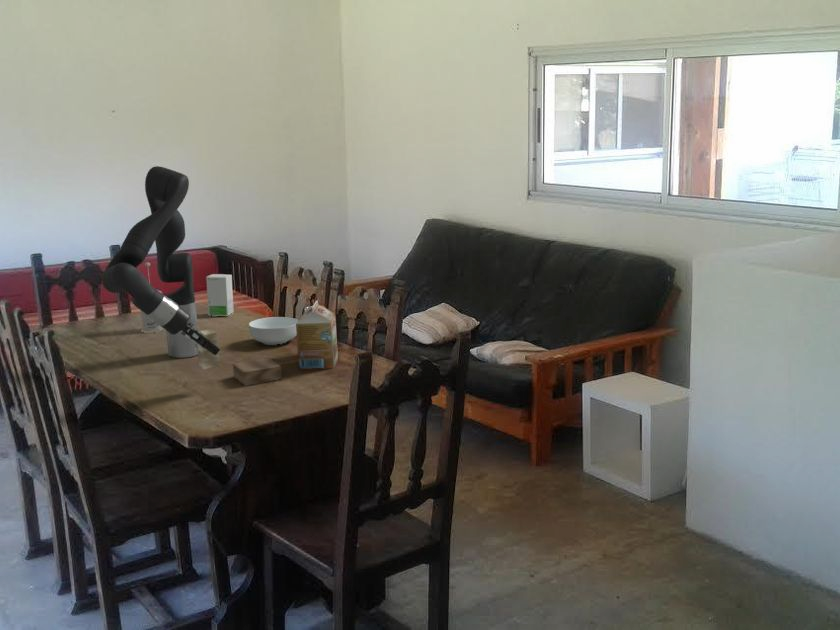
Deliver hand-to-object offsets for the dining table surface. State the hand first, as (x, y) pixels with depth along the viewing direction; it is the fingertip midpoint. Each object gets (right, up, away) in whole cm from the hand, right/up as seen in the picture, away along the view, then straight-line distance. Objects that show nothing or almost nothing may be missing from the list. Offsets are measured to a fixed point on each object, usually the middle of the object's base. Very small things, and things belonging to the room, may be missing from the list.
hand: (214, 350), depth 265 cm
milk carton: (+27, -5, +24) cm, 36 cm away
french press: (-38, +4, +78) cm, 87 cm away
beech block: (-2, -5, 0) cm, 5 cm away
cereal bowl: (+9, 0, +52) cm, 53 cm away
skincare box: (-19, +10, +98) cm, 100 cm away
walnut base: (+10, -9, +11) cm, 17 cm away
